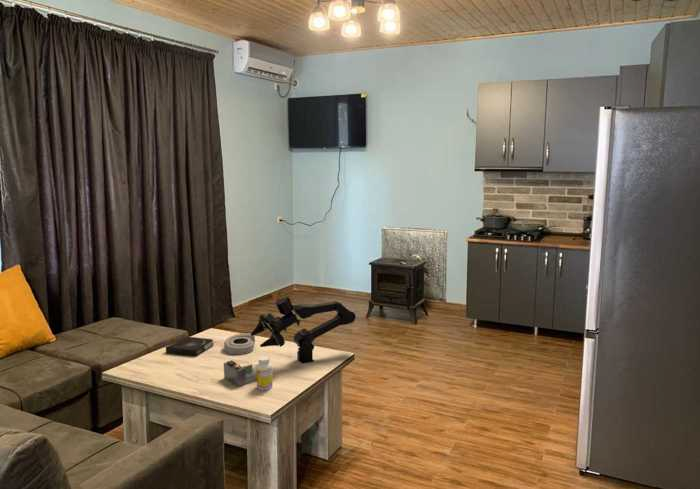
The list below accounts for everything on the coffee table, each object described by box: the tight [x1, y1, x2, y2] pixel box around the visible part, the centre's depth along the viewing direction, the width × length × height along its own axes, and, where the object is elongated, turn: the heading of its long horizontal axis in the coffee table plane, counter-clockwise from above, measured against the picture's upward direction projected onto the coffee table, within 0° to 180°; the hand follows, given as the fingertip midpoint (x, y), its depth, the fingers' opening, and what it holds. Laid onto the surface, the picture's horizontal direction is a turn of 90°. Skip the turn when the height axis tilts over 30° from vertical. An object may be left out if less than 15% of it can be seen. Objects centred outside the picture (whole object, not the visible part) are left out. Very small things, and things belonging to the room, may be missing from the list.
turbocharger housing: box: [223, 332, 256, 356], centre depth 274 cm, size 17×6×15 cm
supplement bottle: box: [255, 355, 273, 391], centre depth 228 cm, size 7×7×13 cm
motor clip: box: [223, 360, 257, 387], centre depth 238 cm, size 14×12×8 cm
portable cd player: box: [165, 336, 215, 358], centre depth 273 cm, size 16×17×4 cm
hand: (255, 340), depth 245 cm, fingers open, 9 cm apart
